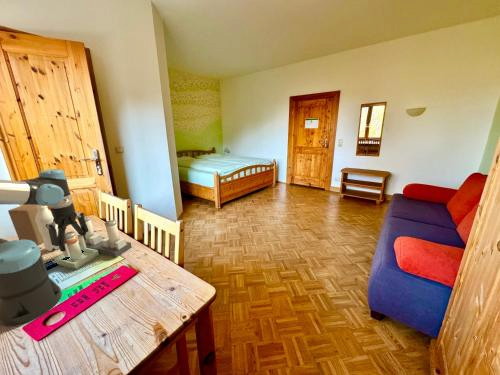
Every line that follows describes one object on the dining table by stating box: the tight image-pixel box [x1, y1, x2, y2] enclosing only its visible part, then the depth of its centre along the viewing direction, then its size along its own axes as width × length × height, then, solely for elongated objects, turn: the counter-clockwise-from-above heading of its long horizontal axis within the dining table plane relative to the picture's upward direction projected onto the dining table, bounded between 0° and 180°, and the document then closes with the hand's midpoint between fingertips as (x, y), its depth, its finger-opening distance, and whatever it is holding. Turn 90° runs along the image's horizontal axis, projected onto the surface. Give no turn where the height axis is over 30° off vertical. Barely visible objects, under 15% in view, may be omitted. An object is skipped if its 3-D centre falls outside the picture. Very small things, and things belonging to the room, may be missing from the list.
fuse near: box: [104, 219, 121, 249], centre depth 99 cm, size 5×5×13 cm
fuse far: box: [84, 215, 95, 243], centre depth 103 cm, size 5×5×13 cm
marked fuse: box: [64, 231, 84, 262], centre depth 93 cm, size 5×5×13 cm
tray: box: [53, 247, 101, 271], centre depth 95 cm, size 10×13×3 cm
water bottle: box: [35, 205, 60, 252], centre depth 101 cm, size 7×7×25 cm
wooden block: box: [7, 205, 44, 246], centre depth 110 cm, size 10×10×20 cm
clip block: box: [79, 233, 132, 259], centre depth 103 cm, size 9×26×6 cm, turn 73°
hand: (75, 251), depth 94 cm, fingers open, 6 cm apart
